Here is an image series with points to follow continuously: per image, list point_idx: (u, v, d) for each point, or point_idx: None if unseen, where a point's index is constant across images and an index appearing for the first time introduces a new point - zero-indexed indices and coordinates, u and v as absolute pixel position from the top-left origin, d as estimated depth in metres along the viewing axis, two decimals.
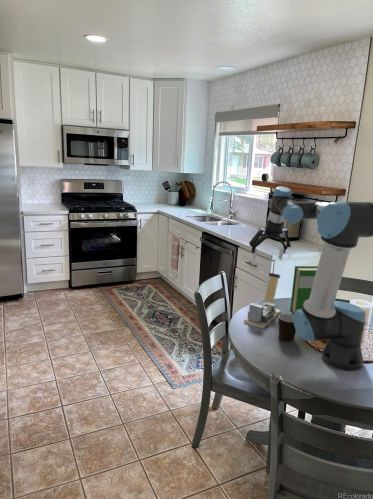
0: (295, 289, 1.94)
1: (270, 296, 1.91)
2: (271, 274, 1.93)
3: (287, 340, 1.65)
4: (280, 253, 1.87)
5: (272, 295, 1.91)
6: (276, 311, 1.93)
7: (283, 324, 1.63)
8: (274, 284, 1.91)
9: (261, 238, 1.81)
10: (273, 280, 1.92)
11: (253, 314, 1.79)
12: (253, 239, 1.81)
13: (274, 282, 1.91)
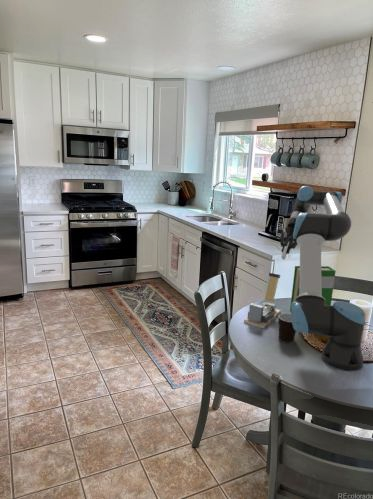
0: (295, 289, 1.94)
1: (270, 296, 1.91)
2: (271, 274, 1.93)
3: (287, 340, 1.65)
4: None
5: (272, 295, 1.91)
6: (276, 311, 1.93)
7: (283, 324, 1.63)
8: (274, 284, 1.91)
9: None
10: (273, 280, 1.92)
11: (253, 314, 1.79)
12: None
13: (274, 282, 1.91)
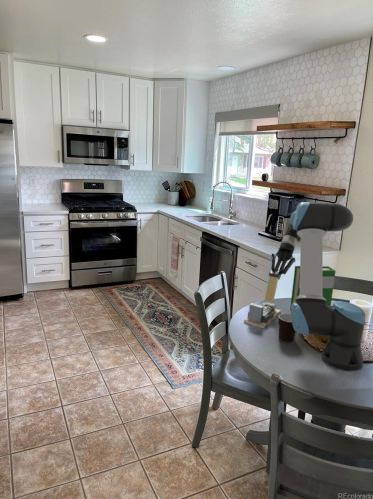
0: (295, 289, 1.94)
1: (270, 296, 1.91)
2: (271, 274, 1.92)
3: (287, 340, 1.65)
4: None
5: (272, 295, 1.91)
6: (276, 311, 1.93)
7: (283, 324, 1.63)
8: (274, 284, 1.91)
9: None
10: (272, 280, 1.92)
11: (253, 314, 1.79)
12: None
13: (274, 282, 1.91)
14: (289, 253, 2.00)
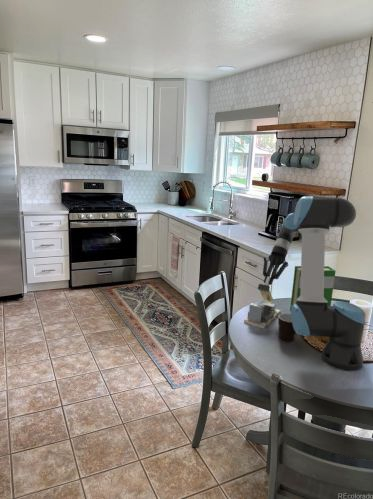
0: (295, 289, 1.94)
1: (268, 300, 1.90)
2: (260, 289, 1.83)
3: (287, 340, 1.65)
4: None
5: (269, 300, 1.89)
6: (276, 311, 1.93)
7: (283, 324, 1.63)
8: (267, 294, 1.85)
9: None
10: (264, 292, 1.84)
11: (253, 314, 1.79)
12: None
13: (266, 293, 1.84)
14: (282, 257, 1.91)
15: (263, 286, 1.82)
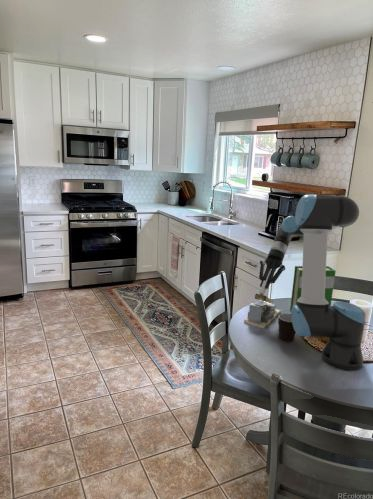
0: (295, 289, 1.94)
1: (268, 302, 1.90)
2: None
3: (287, 340, 1.65)
4: None
5: None
6: (276, 311, 1.93)
7: (283, 324, 1.63)
8: (265, 301, 1.84)
9: None
10: None
11: (253, 314, 1.79)
12: None
13: (264, 301, 1.83)
14: (278, 260, 1.86)
15: (260, 296, 1.81)
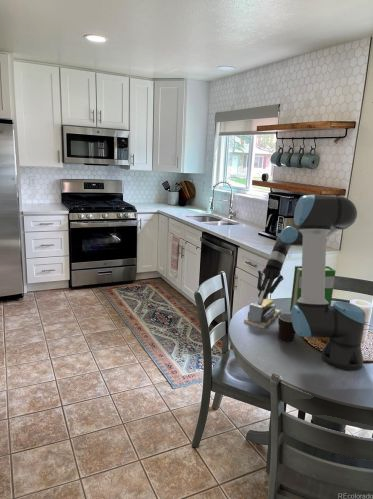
0: (295, 289, 1.94)
1: None
2: None
3: (287, 340, 1.65)
4: None
5: None
6: (276, 311, 1.93)
7: (283, 324, 1.63)
8: None
9: None
10: None
11: (253, 314, 1.79)
12: None
13: None
14: (277, 271, 1.87)
15: None
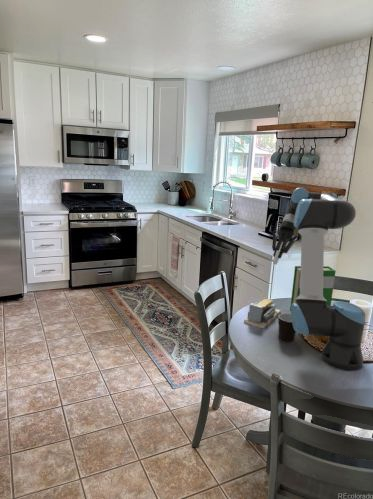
0: (295, 289, 1.94)
1: None
2: None
3: (287, 340, 1.65)
4: None
5: None
6: (276, 311, 1.93)
7: (283, 324, 1.63)
8: None
9: None
10: None
11: (253, 314, 1.79)
12: None
13: None
14: (291, 232, 1.95)
15: None
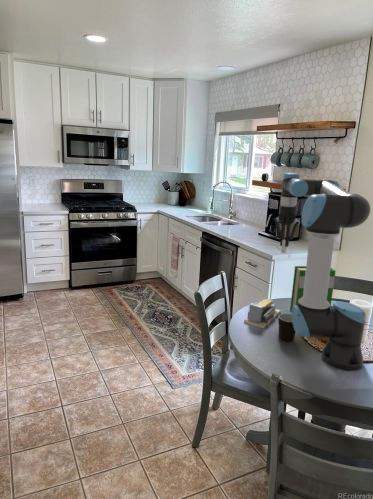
0: (295, 289, 1.94)
1: None
2: None
3: (287, 340, 1.65)
4: None
5: None
6: (276, 311, 1.93)
7: (283, 324, 1.63)
8: None
9: None
10: None
11: (253, 314, 1.79)
12: None
13: None
14: (291, 216, 1.85)
15: None
